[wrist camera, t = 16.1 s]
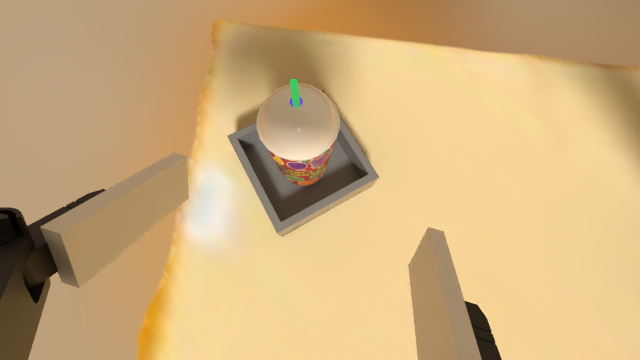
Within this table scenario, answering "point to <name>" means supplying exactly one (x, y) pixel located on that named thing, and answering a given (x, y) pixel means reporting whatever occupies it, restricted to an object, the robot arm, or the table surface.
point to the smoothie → (299, 130)
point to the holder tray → (307, 200)
